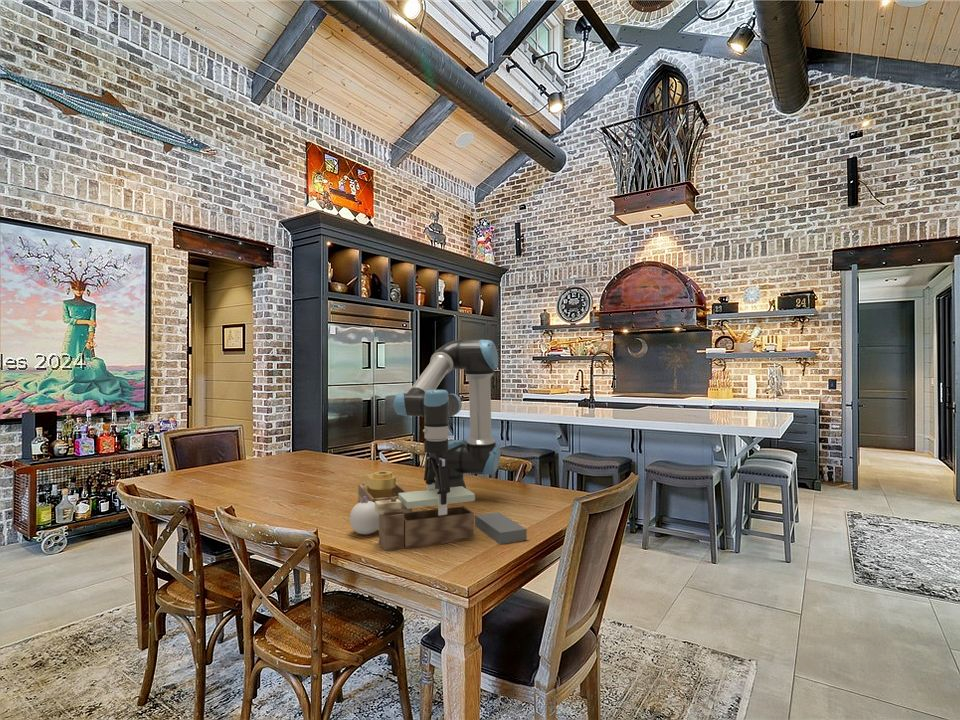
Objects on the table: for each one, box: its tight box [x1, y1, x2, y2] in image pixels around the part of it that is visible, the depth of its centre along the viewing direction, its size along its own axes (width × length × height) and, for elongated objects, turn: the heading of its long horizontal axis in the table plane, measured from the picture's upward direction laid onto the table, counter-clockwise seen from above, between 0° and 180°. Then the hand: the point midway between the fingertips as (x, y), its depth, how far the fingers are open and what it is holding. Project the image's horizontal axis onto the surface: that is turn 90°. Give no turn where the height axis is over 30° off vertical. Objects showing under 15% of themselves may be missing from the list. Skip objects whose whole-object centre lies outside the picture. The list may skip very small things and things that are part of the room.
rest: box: [474, 511, 527, 545], centre depth 166 cm, size 9×20×4 cm, turn 23°
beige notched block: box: [375, 497, 401, 515], centre depth 154 cm, size 7×4×4 cm, turn 113°
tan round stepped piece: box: [363, 470, 397, 499], centre depth 187 cm, size 20×9×16 cm, turn 23°
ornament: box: [349, 496, 379, 535], centre depth 165 cm, size 10×10×12 cm
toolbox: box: [378, 505, 475, 552], centre depth 158 cm, size 28×9×11 cm, turn 113°
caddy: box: [357, 481, 413, 513], centre depth 186 cm, size 14×25×9 cm, turn 23°
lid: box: [398, 486, 476, 509], centre depth 160 cm, size 22×11×2 cm, turn 113°
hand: (436, 509), depth 160 cm, fingers closed on lid, 11 cm apart
